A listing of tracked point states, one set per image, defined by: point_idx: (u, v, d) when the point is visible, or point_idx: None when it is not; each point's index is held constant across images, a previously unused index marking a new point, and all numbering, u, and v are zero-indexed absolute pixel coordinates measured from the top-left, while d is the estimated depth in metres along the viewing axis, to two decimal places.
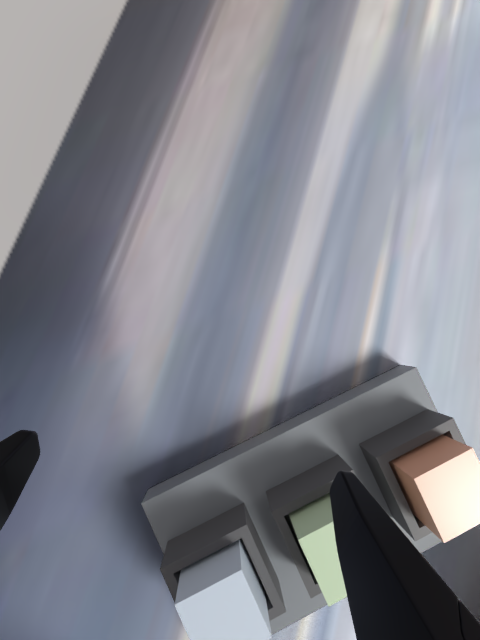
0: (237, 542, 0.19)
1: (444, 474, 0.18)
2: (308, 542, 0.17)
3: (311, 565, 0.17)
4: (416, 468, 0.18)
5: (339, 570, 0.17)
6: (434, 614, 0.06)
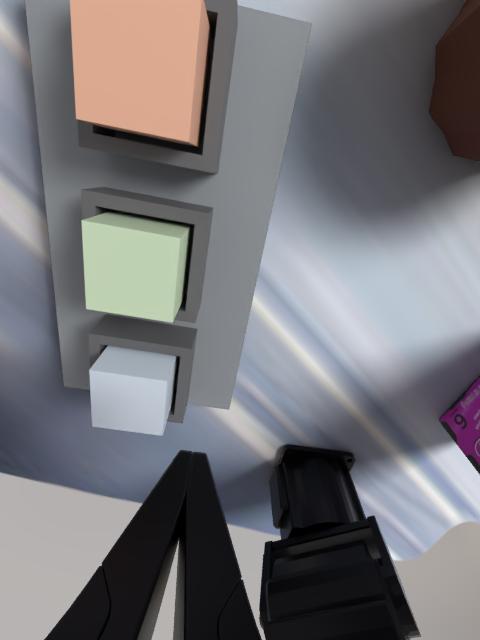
0: None
1: (91, 59, 0.10)
2: (94, 300, 0.14)
3: (120, 313, 0.14)
4: None
5: (142, 290, 0.14)
6: (207, 594, 0.05)
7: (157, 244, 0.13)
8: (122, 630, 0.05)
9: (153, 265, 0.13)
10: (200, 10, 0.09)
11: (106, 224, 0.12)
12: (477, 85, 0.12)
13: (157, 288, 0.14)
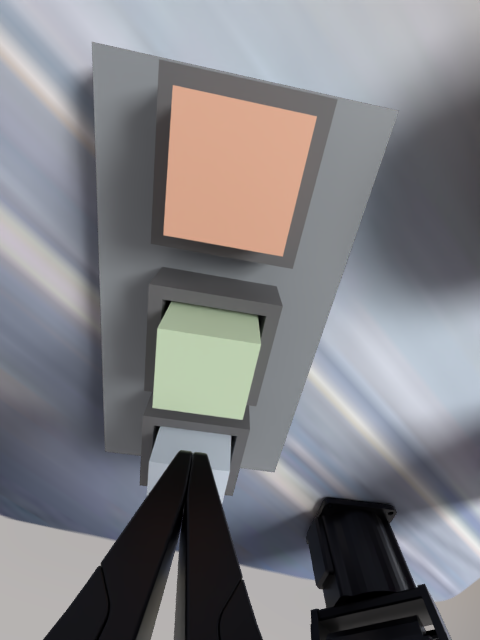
0: None
1: (187, 179, 0.09)
2: (162, 400, 0.13)
3: (188, 411, 0.13)
4: None
5: (214, 391, 0.13)
6: (208, 594, 0.05)
7: (236, 350, 0.12)
8: (121, 631, 0.05)
9: (229, 369, 0.12)
10: (312, 132, 0.09)
11: (183, 330, 0.12)
12: None
13: (230, 389, 0.13)
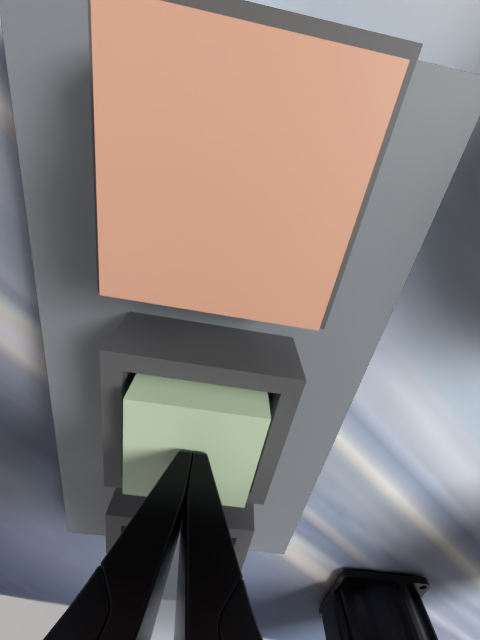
0: None
1: (137, 194, 0.05)
2: (135, 485, 0.10)
3: None
4: None
5: None
6: (208, 594, 0.05)
7: (235, 426, 0.08)
8: (121, 631, 0.05)
9: (225, 449, 0.09)
10: (394, 97, 0.04)
11: (160, 401, 0.08)
12: None
13: (228, 473, 0.09)
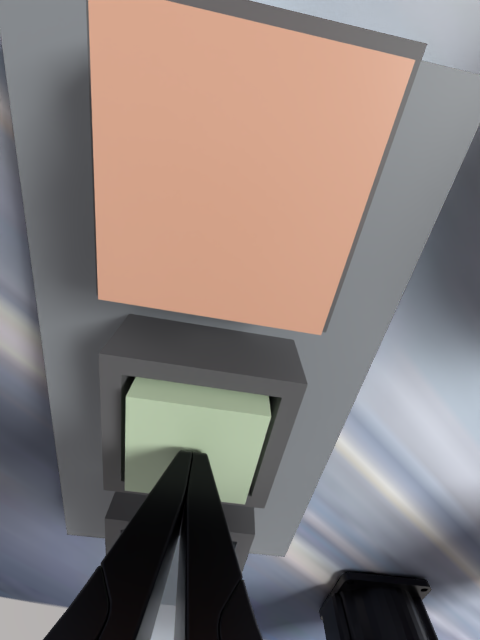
0: None
1: (136, 196, 0.04)
2: (137, 482, 0.10)
3: None
4: None
5: None
6: (208, 594, 0.05)
7: (236, 423, 0.09)
8: (121, 630, 0.05)
9: (226, 446, 0.09)
10: (399, 98, 0.04)
11: (162, 398, 0.08)
12: None
13: (229, 470, 0.09)
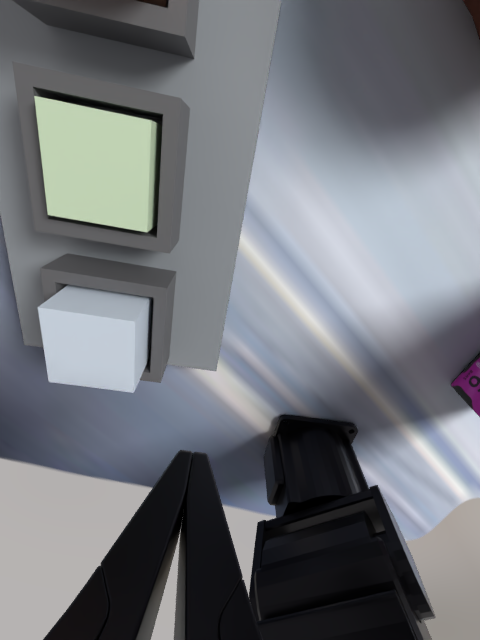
0: None
1: None
2: (56, 204, 0.12)
3: (87, 219, 0.12)
4: None
5: (111, 190, 0.12)
6: (208, 593, 0.05)
7: (125, 128, 0.11)
8: (121, 630, 0.05)
9: (121, 157, 0.11)
10: None
11: (64, 102, 0.11)
12: None
13: (128, 188, 0.12)
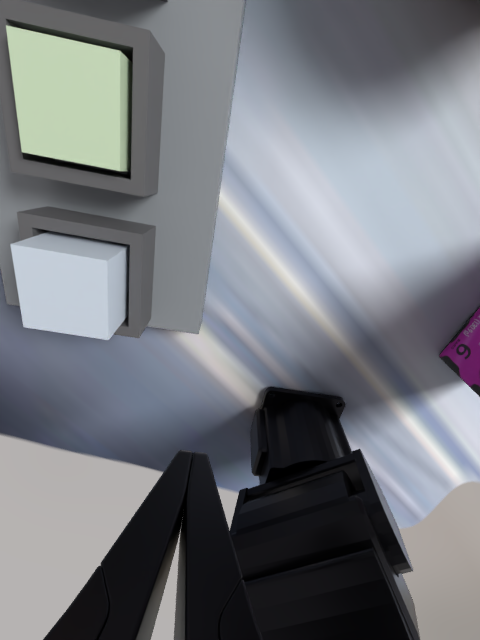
0: None
1: None
2: (30, 140, 0.12)
3: (60, 157, 0.13)
4: None
5: (83, 126, 0.12)
6: (208, 593, 0.05)
7: (95, 60, 0.11)
8: (121, 631, 0.05)
9: (92, 90, 0.12)
10: None
11: (35, 33, 0.11)
12: None
13: (100, 123, 0.12)
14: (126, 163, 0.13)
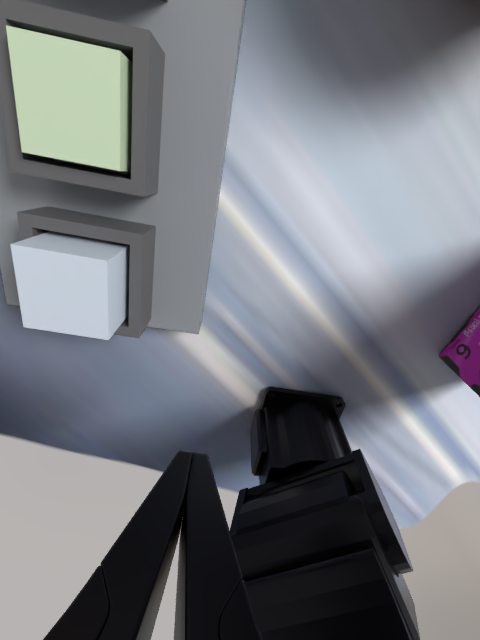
0: None
1: None
2: (30, 140, 0.12)
3: (60, 157, 0.13)
4: None
5: (83, 126, 0.12)
6: (208, 593, 0.05)
7: (95, 60, 0.11)
8: (121, 631, 0.05)
9: (92, 90, 0.12)
10: None
11: (35, 33, 0.11)
12: None
13: (100, 123, 0.12)
14: (126, 163, 0.13)
